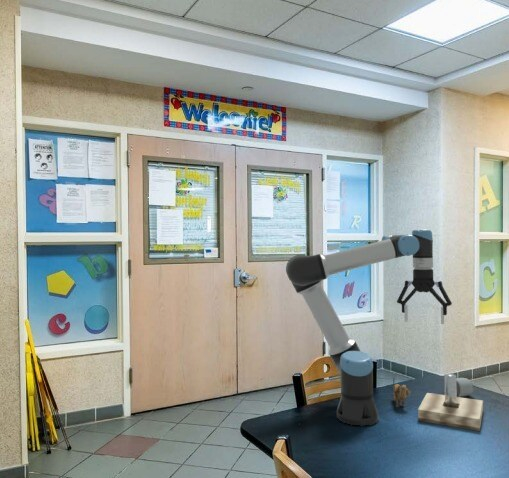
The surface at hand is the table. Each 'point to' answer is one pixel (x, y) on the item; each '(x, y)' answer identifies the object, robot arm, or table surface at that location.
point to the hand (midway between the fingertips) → (424, 322)
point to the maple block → (451, 412)
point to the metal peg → (450, 391)
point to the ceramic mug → (463, 387)
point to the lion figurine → (400, 393)
